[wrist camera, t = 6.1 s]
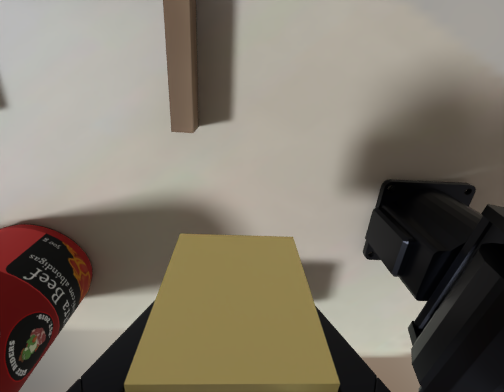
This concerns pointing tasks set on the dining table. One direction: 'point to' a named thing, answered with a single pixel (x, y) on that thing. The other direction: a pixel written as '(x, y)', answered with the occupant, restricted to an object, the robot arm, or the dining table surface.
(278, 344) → the ochre block
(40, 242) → the canned food
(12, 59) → the dining table surface
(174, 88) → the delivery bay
